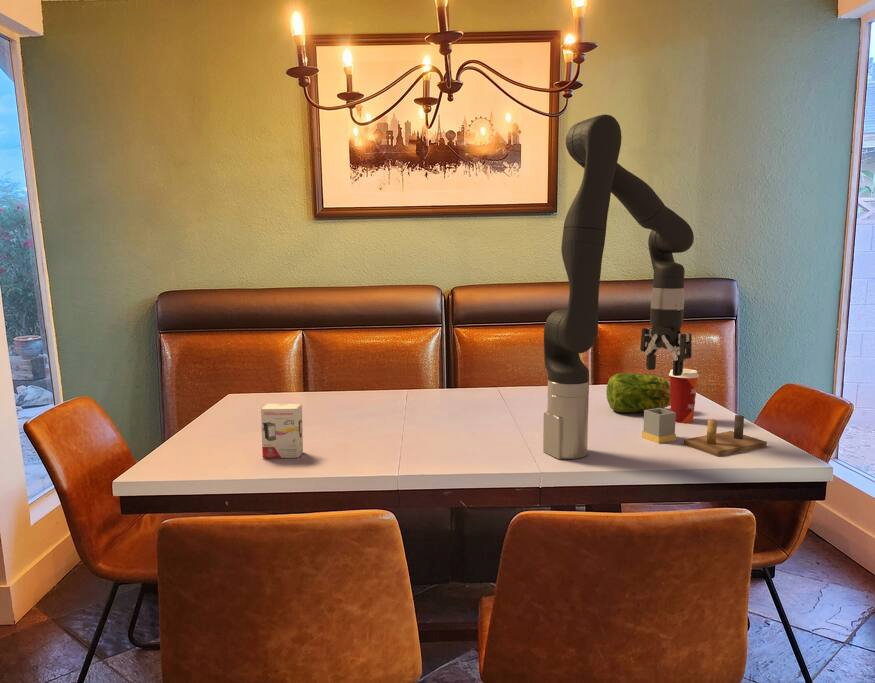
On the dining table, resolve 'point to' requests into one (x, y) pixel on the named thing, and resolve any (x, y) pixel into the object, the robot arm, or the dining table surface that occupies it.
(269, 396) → the dining table surface
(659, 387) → the lettuce
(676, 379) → the paper cup
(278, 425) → the ink box
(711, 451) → the pin board
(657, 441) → the sleeve
